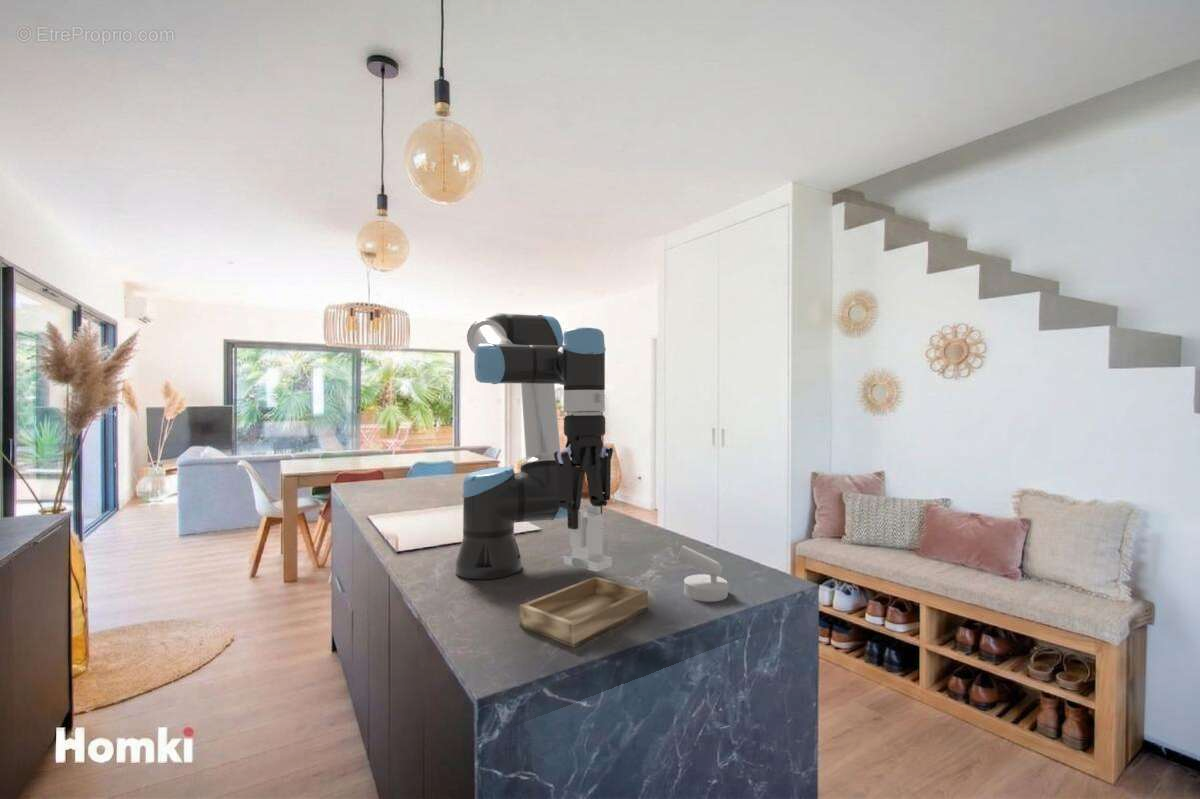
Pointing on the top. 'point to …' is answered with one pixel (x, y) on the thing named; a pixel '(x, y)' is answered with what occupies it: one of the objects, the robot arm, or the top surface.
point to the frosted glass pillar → (590, 546)
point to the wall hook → (703, 577)
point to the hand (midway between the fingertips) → (585, 543)
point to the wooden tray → (583, 610)
